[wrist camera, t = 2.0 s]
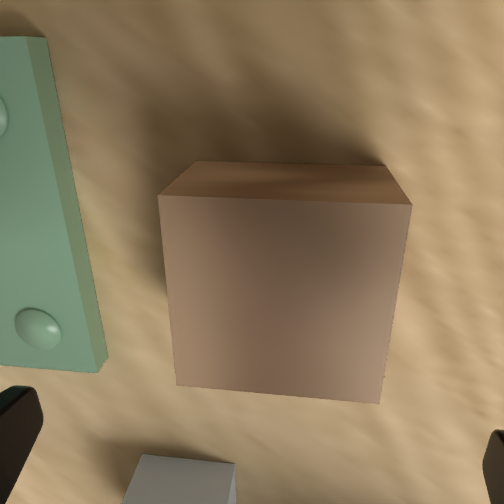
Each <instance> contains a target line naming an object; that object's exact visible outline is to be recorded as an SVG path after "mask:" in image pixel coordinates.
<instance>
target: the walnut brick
mask: <svg viewBox="0 0 504 504" xmlns="http://www.w3.org/2000/svg"><path fill="white" fill-rule="evenodd" d="M157 197H158V206H159V216H160V226H161V236H162V246H163V256H164V266H165V275H166V285H167V295H168V305H169V315H170V325H171V335H172V344H173V354H174V364H175V374H176V384H177V385H179V386H190V387H201V388H211V389H222V390H233V391H244V392H255V393H265V394H276V395H287V396H298V397H308V398H319V399H330V400H341V401H352V402H362V403H373V404H379V402H380V396H381V390H382V384H383V378H384V372H385V366H386V360H387V354H388V348H389V342H390V336H391V330H392V324H393V318H394V312H395V306H396V300H397V294H398V288H399V282H400V276H401V270H402V264H403V258H404V252H405V246H406V240H407V234H408V228H409V222H410V216H411V210H412V204H411V202H410V201H409V199H408V198H407V196H406V195H405V193H404V192H403V190H402V189H401V187H400V186H399V184H398V183H397V181H396V180H395V179H394V177H393V176H392V174H391V173H390V171H389V170H388V168H387V167H386V166H376V165H339V164H302V163H264V162H227V161H195V162H194V163H193V164H192V165H191V166H190V167H189V168H187V169H186V170H185V171H184V172H183V173H182V174H181V175H180V176H178V177H177V178H176V179H175V180H174V181H173V182H172V183H171V184H169V185H168V186H167V187H166V188H165V189H164V190H163V191H162V192H160V193H159V194H158V195H157Z"/></svg>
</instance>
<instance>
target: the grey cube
mask: <svg viewBox="0 0 504 504" xmlns="http://www.w3.org/2000/svg"><path fill="white" fill-rule="evenodd" d="M121 504H237V499H236V475H235V464H232V463H223V462H213V461H204V460H194V459H185V458H176V457H166V456H157V455H148V454H142V456H141V458H140V460H139V463H138V465H137V467H136V470H135V472H134V475H133V477H132V479H131V482H130V484H129V486H128V489H127V491H126V493H125V496H124V498H123V500H122V503H121Z"/></svg>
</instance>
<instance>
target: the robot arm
mask: <svg viewBox="0 0 504 504" xmlns="http://www.w3.org/2000/svg"><path fill="white" fill-rule="evenodd" d="M42 425H43V412H42V409H41V405H40V402H39V398H38V395H37V392H36V390H35V389H34V388H33V387H29V386H18V385H17V386H12V387H10V388H8V389H6V390H4V391H2V392H1V393H0V504H5V503H6V501H7V499H8V497H9V495H10V493H11V491H12V489H13V487H14V485H15V483H16V481H17V479H18V477H19V475H20V472H21V470H22V468H23V466H24V464H25V462H26V460H27V458H28V456H29V453H30V451H31V449H32V447H33V445H34V443H35V441H36V439H37V437H38V434H39V432H40V430H41V428H42ZM482 465H483V474H484V478H485V482H486V486H487V490H488V494H489V498H490V502H491V504H504V430H498V429H497V430H494V431H493V432H492V434H491V436H490V439H489V442H488V445H487V448H486V452H485V455H484V458H483V464H482Z"/></svg>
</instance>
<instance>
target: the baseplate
mask: <svg viewBox="0 0 504 504" xmlns="http://www.w3.org/2000/svg"><path fill="white" fill-rule="evenodd" d="M107 358H108V354H107V348H106V343H105V338H104V333H103V328H102V323H101V318H100V312H99V307H98V302H97V297H96V292H95V287H94V282H93V276H92V271H91V266H90V261H89V256H88V251H87V246H86V241H85V235H84V230H83V225H82V220H81V215H80V210H79V205H78V199H77V194H76V189H75V184H74V179H73V174H72V169H71V163H70V158H69V153H68V148H67V143H66V138H65V133H64V128H63V122H62V117H61V112H60V107H59V102H58V97H57V92H56V86H55V81H54V76H53V71H52V66H51V61H50V56H49V50H48V45H47V40H46V38H44V37H30V36H11V37H0V365H4V366H16V367H28V368H40V369H52V370H63V371H75V372H87V373H98V372H99V370H100V369H101V367H102V366H103V364H104V363H105V361H106V360H107Z"/></svg>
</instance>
